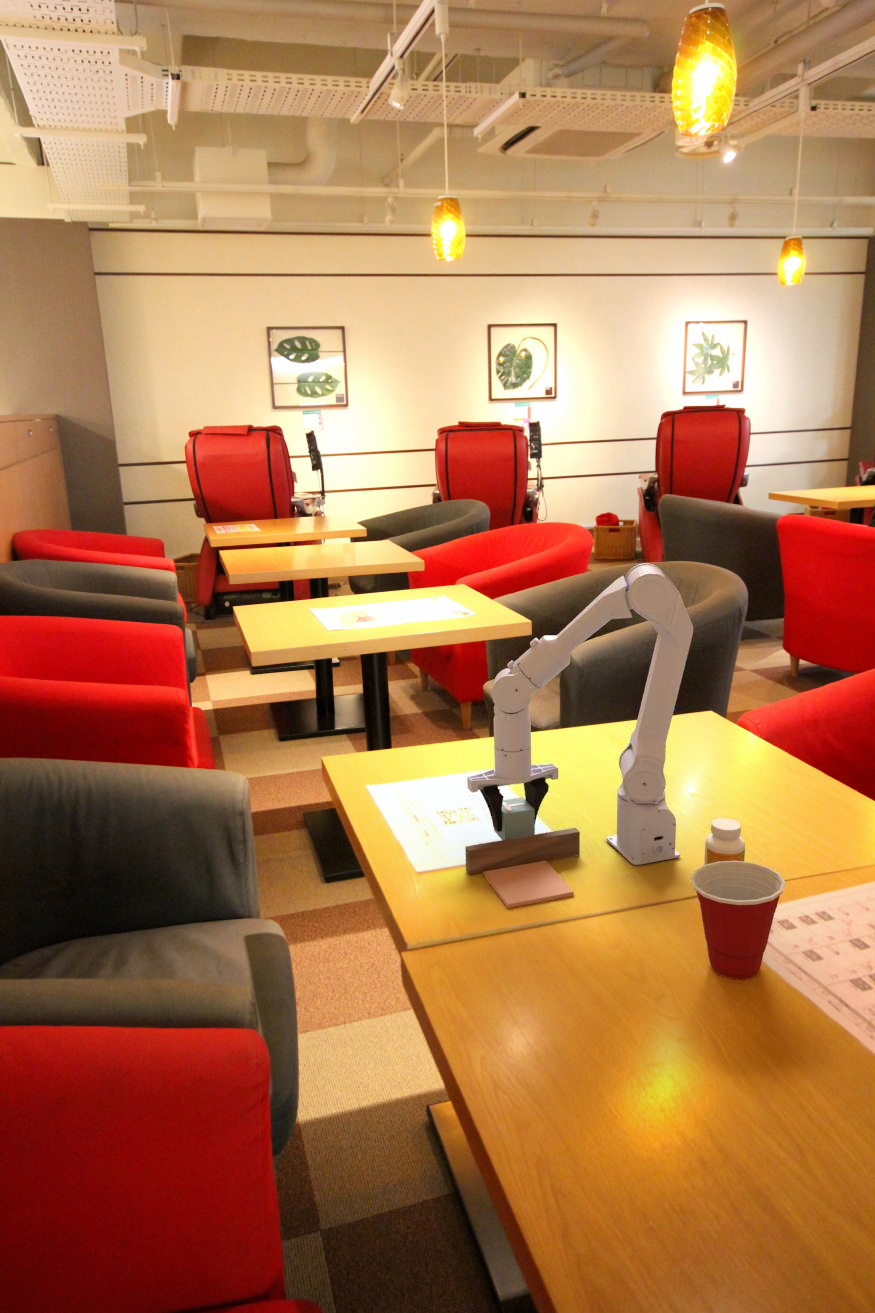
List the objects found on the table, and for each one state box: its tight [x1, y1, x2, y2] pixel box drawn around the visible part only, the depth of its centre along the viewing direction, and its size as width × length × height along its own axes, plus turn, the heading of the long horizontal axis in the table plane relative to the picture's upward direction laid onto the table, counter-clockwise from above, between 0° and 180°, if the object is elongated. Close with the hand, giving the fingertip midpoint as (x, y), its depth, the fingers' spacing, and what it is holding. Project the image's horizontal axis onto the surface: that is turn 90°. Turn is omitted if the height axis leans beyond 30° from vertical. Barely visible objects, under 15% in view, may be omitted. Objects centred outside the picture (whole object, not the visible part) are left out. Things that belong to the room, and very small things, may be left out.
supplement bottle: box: [703, 817, 746, 865], centre depth 128 cm, size 5×5×10 cm
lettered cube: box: [493, 796, 536, 840], centre depth 144 cm, size 5×5×5 cm
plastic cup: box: [689, 860, 787, 980], centre depth 110 cm, size 11×11×12 cm
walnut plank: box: [465, 827, 581, 876], centre depth 138 cm, size 2×18×4 cm, turn 107°
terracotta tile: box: [483, 860, 575, 909], centre depth 132 cm, size 10×10×1 cm
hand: (514, 826), depth 144 cm, fingers closed on lettered cube, 5 cm apart
